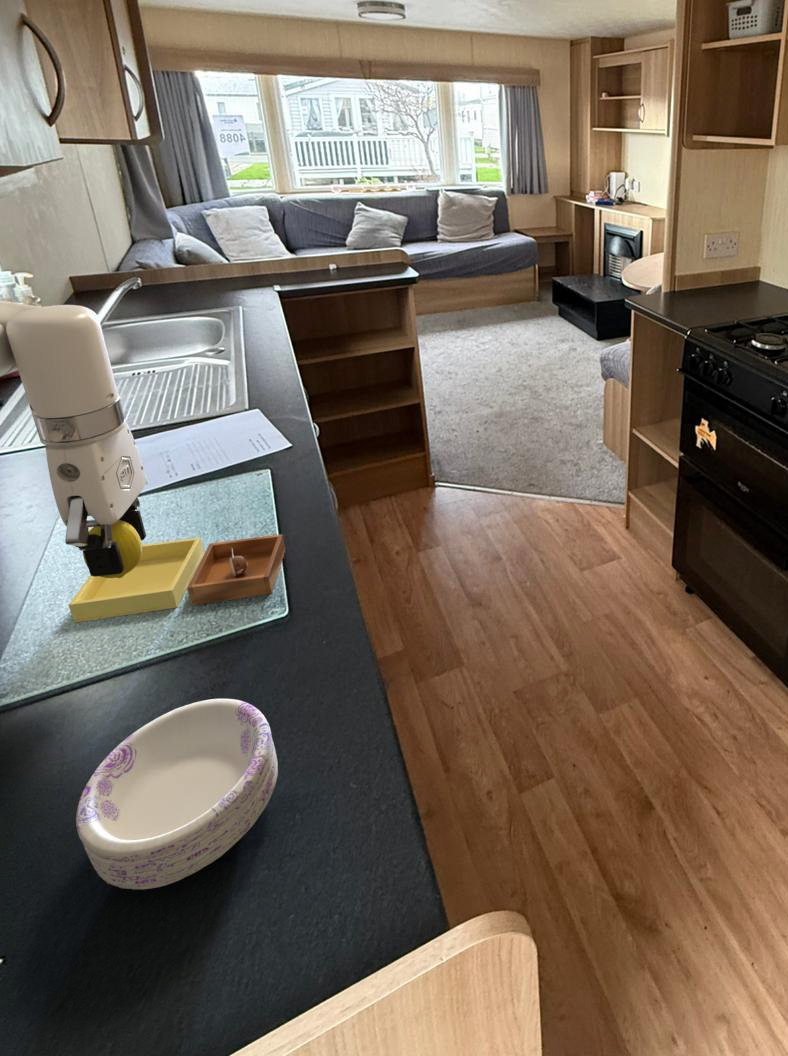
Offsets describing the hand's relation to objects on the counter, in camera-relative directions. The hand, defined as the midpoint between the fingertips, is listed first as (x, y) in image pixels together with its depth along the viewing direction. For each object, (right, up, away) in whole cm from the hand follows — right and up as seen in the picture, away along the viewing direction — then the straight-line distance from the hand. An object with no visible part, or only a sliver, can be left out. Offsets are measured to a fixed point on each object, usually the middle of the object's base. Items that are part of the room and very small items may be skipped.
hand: (119, 555), depth 77 cm
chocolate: (+4, -8, +18) cm, 20 cm away
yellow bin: (-8, -9, +16) cm, 20 cm away
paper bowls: (+19, -22, -15) cm, 32 cm away
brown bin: (+4, -8, +18) cm, 20 cm away
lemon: (-1, -3, +1) cm, 3 cm away
